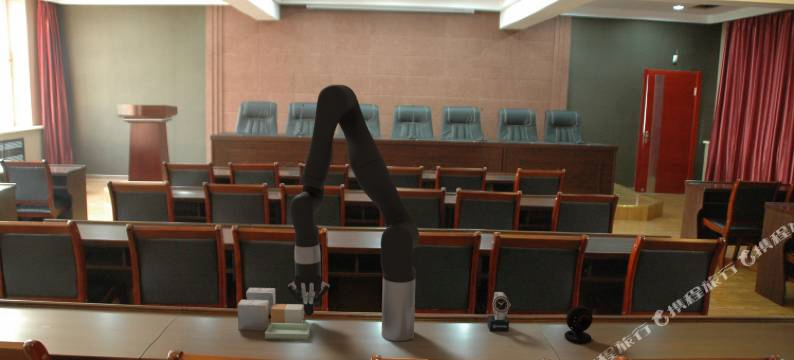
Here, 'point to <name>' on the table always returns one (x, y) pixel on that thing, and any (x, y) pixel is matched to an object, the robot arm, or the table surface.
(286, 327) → the tray
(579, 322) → the webcam
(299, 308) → the two-tone eraser block
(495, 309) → the watch
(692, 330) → the table surface
